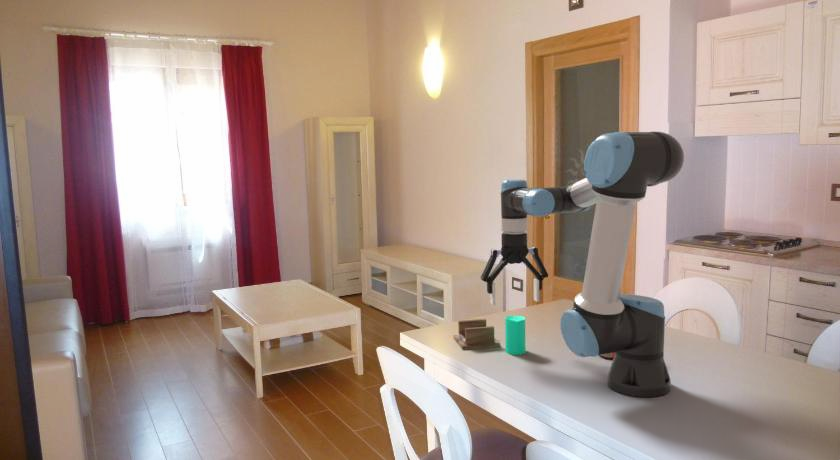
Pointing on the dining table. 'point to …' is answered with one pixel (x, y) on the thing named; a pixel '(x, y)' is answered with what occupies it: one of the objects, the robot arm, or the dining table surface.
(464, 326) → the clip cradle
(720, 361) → the dining table surface
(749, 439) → the dining table surface
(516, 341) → the candle
